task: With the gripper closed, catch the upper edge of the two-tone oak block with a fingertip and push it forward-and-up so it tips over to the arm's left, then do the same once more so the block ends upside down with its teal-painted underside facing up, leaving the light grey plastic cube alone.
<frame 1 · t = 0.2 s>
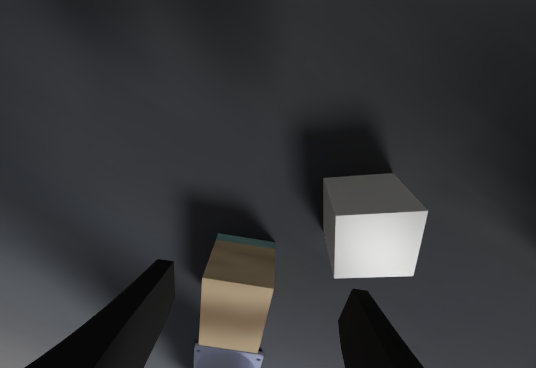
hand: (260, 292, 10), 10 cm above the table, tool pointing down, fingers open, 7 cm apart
grey block: (355, 203, 20), on the table
oak block: (242, 269, 24), on the table
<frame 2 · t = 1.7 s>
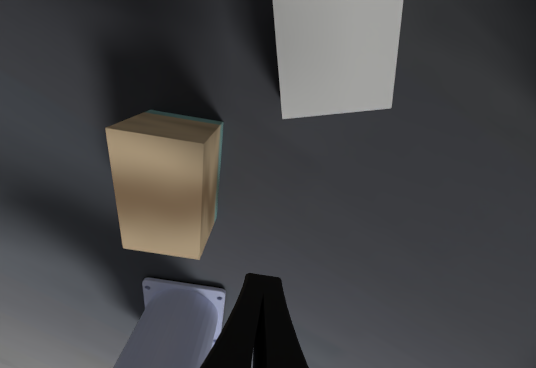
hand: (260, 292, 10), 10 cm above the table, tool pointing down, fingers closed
grey block: (320, 54, 15), on the table
oak block: (187, 168, 19), on the table
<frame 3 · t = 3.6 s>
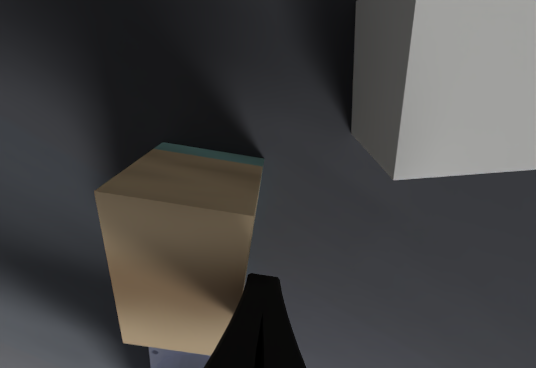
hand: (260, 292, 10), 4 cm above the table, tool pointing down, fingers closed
grey block: (415, 66, 10), on the table
oak block: (210, 217, 14), on the table, touching gripper
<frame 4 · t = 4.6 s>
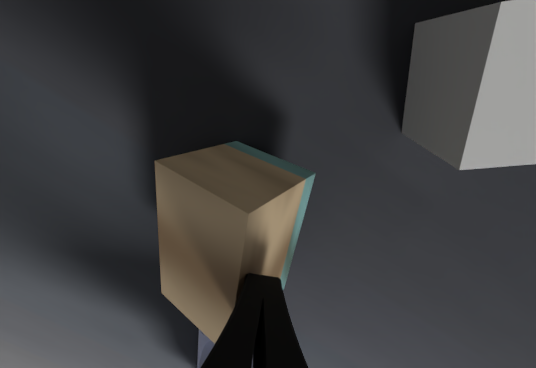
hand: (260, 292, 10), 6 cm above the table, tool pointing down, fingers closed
grey block: (460, 76, 12), on the table
oak block: (261, 218, 15), point 1 cm above the table, tilted 33°, touching gripper
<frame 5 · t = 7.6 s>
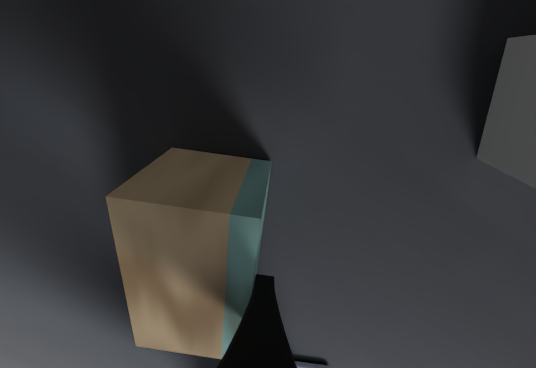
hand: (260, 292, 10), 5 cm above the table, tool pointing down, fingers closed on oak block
oak block: (257, 258, 12), point 3 cm above the table, tilted 92°, touching gripper
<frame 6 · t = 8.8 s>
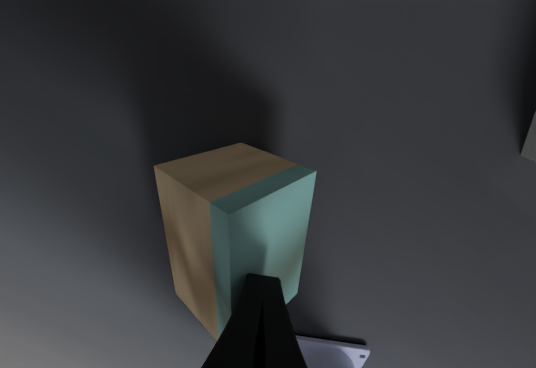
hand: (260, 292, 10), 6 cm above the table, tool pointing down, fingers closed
oak block: (273, 266, 11), point 5 cm above the table, tilted 130°, touching gripper
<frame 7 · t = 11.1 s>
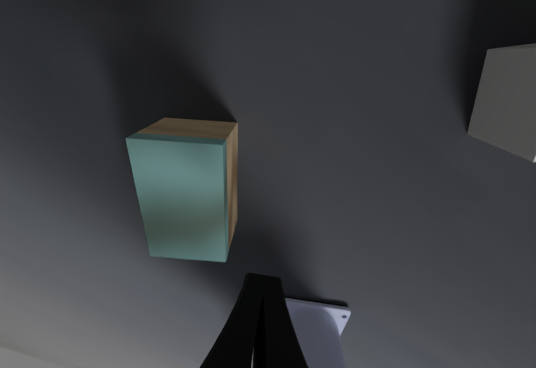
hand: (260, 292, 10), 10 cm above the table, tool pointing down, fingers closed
grey block: (519, 89, 15), on the table
oak block: (181, 207, 15), point 5 cm above the table, tilted 180°
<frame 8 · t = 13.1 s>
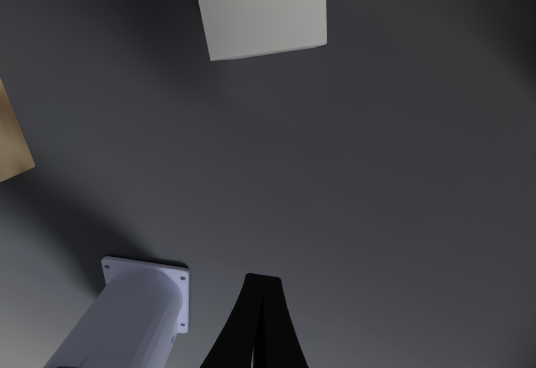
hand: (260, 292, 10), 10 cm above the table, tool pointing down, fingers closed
grey block: (266, 3, 14), on the table
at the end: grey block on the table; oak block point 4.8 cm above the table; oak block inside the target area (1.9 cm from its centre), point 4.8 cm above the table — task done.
